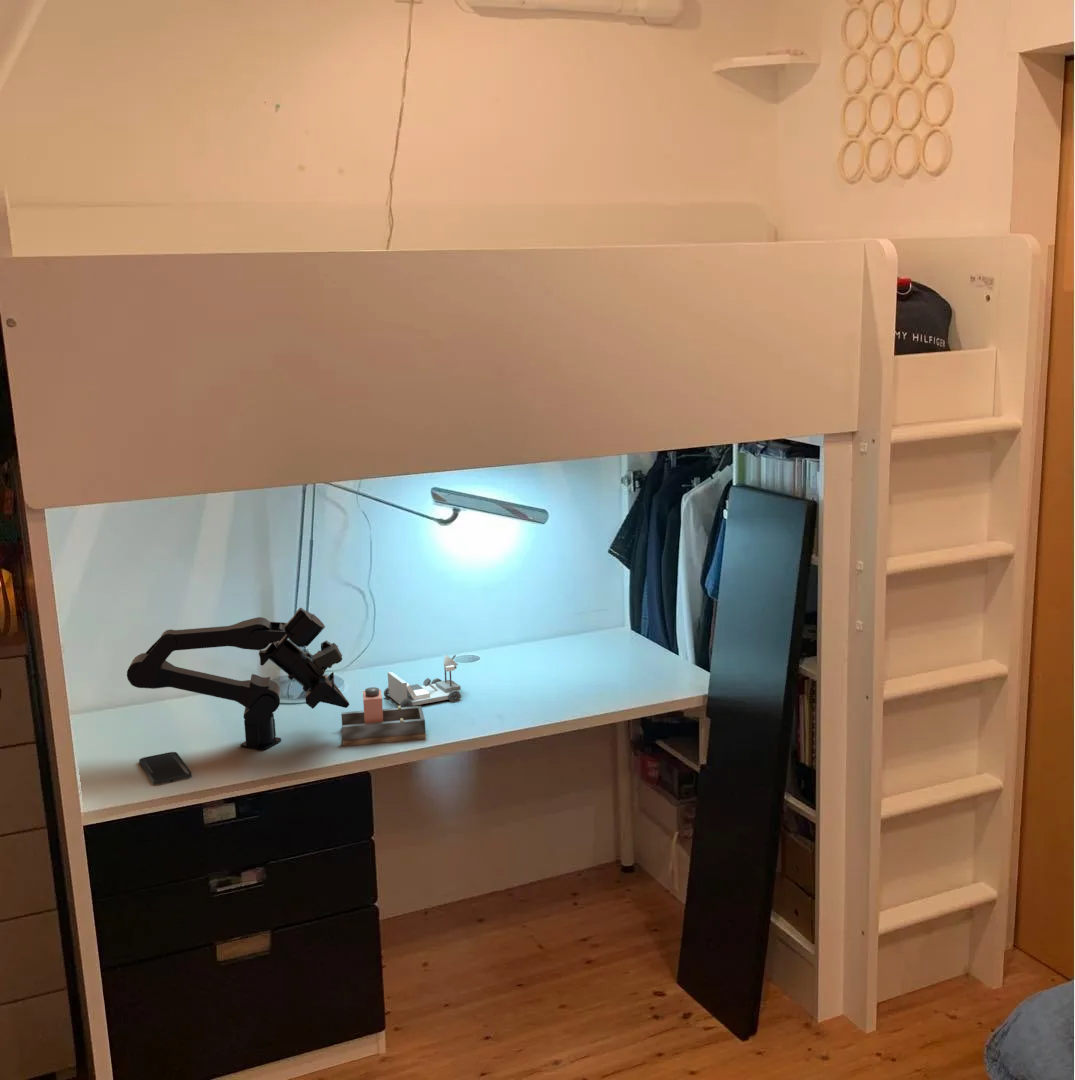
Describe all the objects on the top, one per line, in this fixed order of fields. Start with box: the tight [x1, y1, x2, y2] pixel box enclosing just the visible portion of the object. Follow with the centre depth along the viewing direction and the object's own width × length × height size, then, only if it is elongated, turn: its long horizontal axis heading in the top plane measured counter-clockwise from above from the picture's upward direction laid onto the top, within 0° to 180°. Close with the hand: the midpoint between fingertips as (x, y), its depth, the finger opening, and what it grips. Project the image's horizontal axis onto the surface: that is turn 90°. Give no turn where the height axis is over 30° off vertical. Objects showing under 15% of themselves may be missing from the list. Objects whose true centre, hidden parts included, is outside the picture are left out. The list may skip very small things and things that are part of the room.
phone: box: [138, 751, 193, 786], centre depth 239 cm, size 8×1×15 cm
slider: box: [362, 686, 384, 723], centre depth 255 cm, size 4×6×9 cm, turn 10°
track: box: [340, 705, 427, 747], centre depth 257 cm, size 18×11×4 cm, turn 100°
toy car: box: [383, 654, 462, 708], centre depth 279 cm, size 18×10×12 cm
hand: (348, 705), depth 254 cm, fingers closed
